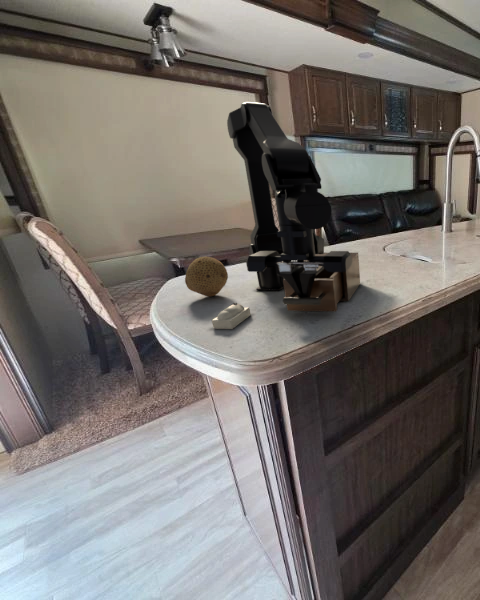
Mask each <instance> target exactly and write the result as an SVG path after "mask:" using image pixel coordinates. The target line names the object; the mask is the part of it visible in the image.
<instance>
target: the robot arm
mask: <svg viewBox="0 0 480 600" xmlns="http://www.w3.org/2000/svg"><path fill="white" fill-rule="evenodd" d="M226 124H227V125H226V126H227V132H228V136H229V138H230V139H232V143H233V148H234V149H235V151H236V152H237V153H238V154H239V155H240V157H241V158H242V160H243V161H244V167H245V172H246V173H245V174H246V180H247V184H248V191H249V196H250V202H251V208H252V214H253V220H254V227H253V229H252V232H251V234H250V235H249V236H250V243H249V249H248V257H247V258H246V261H245V264H246V269H247V272H250V273H256V276H257V282H258V286H257V287H255V289H256V291H281V290H283V289H284V283H283V280H284V279H285V280H286V281H287V282H288V284H289V285H290V286H291V287H292V288H293V290H294V291H295V293H296V294H297V296H298V297H310V295H311V291H312V287H313V283H314V280H315V277H316V275H318V274H319V273H320V272H321V271H322V270H323V269H325V270H327V271H328V272H346V271H347V270H348V269H349V268H350V267H351V266H352V256H351V254H350V253H351V252H350V251H349V250H331V251H329V252H327V253H328V254H327V255H325V256H316V255H315V254H324V253H325V239H324V237H321V236H320V235H317V233H316V230H320V229H322V228H324V227H325V226H327V224H329V222H330V220H331V218H332V205H331V204H330V201H329V200H328V198H327V197H326V196H325V195H324V194H322V193H321V192H320V191H318V190H322V184H321V182H322V178H321V176H320V174H319V172H318V169H317V168H316V166H315V164H314V162H313V159H312V156H311V155H309V152H308V151H307V150H306V148H305V147H304V146H303V145H301V144H300V142H297V141H294V140H292V139H289V138H288V136H287V135H286V134H285V132H284V131H283V129H282V127H281V126H280V125H279V123H278V122H277V119H275V117H274V115H273V112H272V108H271V106H270V105H268V104H266V103H261V102H253V101H252V102H251V101H245V102H242V103H241V104H240V107H238V108H236V109H234V110H231V111H230V112H229V113H228V116H227V120H226ZM271 190H272V191H274V201H275V207H276V214H277V221H278V227H279V228H278V227H277V226H276V222H275V215H274V208H273V202H272V194H271ZM304 260H305V261H304ZM306 260H307V261H306ZM303 269H304V271H303Z"/></svg>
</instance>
